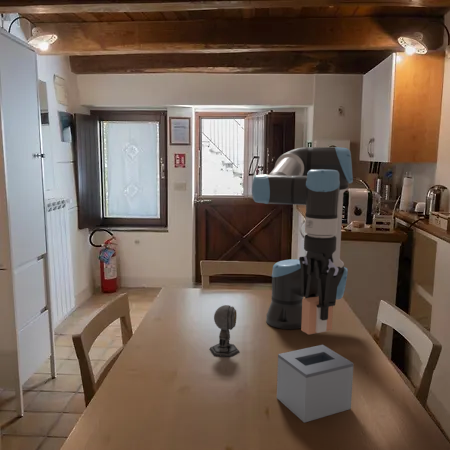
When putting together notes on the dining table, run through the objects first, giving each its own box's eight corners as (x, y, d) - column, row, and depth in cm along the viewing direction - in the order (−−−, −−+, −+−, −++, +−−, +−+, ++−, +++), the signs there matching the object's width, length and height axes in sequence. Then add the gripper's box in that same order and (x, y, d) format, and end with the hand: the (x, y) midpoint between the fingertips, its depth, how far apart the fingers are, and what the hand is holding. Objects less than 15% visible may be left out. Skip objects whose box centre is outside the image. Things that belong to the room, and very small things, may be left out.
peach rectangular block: (324, 325, 115) (325, 295, 114) (331, 329, 113) (333, 298, 111) (301, 330, 112) (302, 298, 111) (308, 334, 110) (309, 302, 108)
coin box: (320, 386, 124) (322, 344, 122) (350, 408, 113) (353, 363, 111) (276, 397, 118) (278, 354, 116) (304, 422, 107) (306, 374, 105)
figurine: (237, 358, 140) (238, 311, 138) (206, 355, 142) (206, 309, 140) (242, 346, 149) (242, 302, 146) (212, 344, 151) (212, 300, 148)
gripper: (288, 230, 114) (285, 320, 118) (329, 241, 100) (324, 343, 104) (312, 228, 118) (309, 316, 121) (356, 239, 103) (350, 338, 107)
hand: (316, 328), depth 112 cm, fingers closed on peach rectangular block, 3 cm apart
